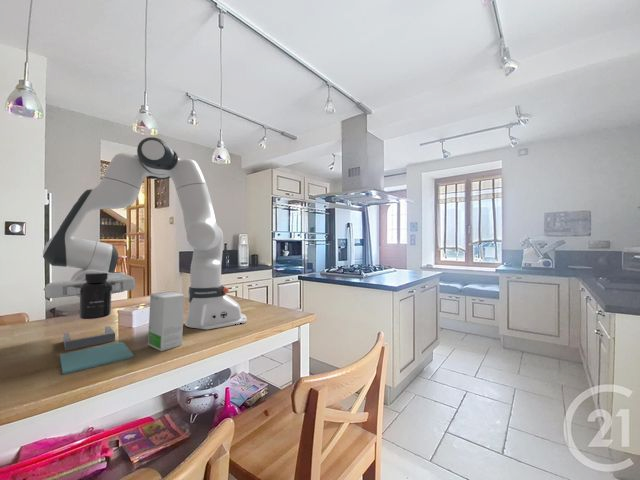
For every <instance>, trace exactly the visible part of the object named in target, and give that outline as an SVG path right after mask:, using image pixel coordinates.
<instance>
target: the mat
mask: <svg viewBox="0 0 640 480" xmlns="http://www.w3.org/2000/svg"><path fill="white" fill-rule="evenodd" d="M134 356H135V354H134V353H133V352H132V351H131V350H130V348H129V347H128V346H127V344H125V342H124V341H119V342H114V343H109V344H105V345H104V344H103V345H100V346H95V347H90V348H86V349H85V348H84V349H79V350H76V351H71V352H66V353H61V354H59V362H60V366H61V373H62V375H66V374H71V373H75V372H78V371H82V370H83V371H84V370H87V369H91V368H94V367H95V368H96V367H99V366H104V365H106V364H111V363H116V362H120V361H123V360H127V359H133V358H134Z"/></svg>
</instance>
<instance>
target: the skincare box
mask: <svg viewBox="0 0 640 480" xmlns="http://www.w3.org/2000/svg"><path fill="white" fill-rule="evenodd" d="M149 297H150V299H149V315H148V316H149V319H148V320H149V321H148V338H147V339H148V340H147V345H148V346H150V347H151V348H153V349H156V350H157V351H160V352H164V351H168V350H171V349H174V348H177V347H180V346H182V345H183V333H184V332H183V330H184V328H183V327H184V312H185V311H184V309H185V294H182V293H179V292H175V291H171V290H170V291H169V290H168V291H161V292H155V293H150V295H149Z"/></svg>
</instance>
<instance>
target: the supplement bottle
mask: <svg viewBox="0 0 640 480" xmlns="http://www.w3.org/2000/svg"><path fill="white" fill-rule="evenodd" d="M107 279H108V278H107V273H88V274H86V275H85V281H86V283H84V284H83V285H82V286H81V287H80V288H81V291H80V292H81V294H80V297H79V311H78V312H79V315H78V316H79V318H80V319H82V320H94V319H95V320H96V319H101V318H106V317H108V316H110V315H111V313H112V294H111V289H112V286H111V284H110V283H109V282H107V281H106V280H107Z"/></svg>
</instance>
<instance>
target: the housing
mask: <svg viewBox="0 0 640 480" xmlns="http://www.w3.org/2000/svg"><path fill="white" fill-rule="evenodd" d="M62 338H63V339H62V340H63V341H62V343H63V346H64V350H65V352H67V351H71V350H72V351H73V350H76V349H82V348H85V347H92V346H96V345H102V344H103V345H104V344H107V343H111V342H112V343H113V342H115V341H116V332H115V331H114V330H113V328H112V327H111V326H110V325H107V326H104V333H102V334H96V335H91V336H85V337H79V338H76V339H71V336H70V333H69V332H66V333H65V332H64V333H63V336H62Z"/></svg>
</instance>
